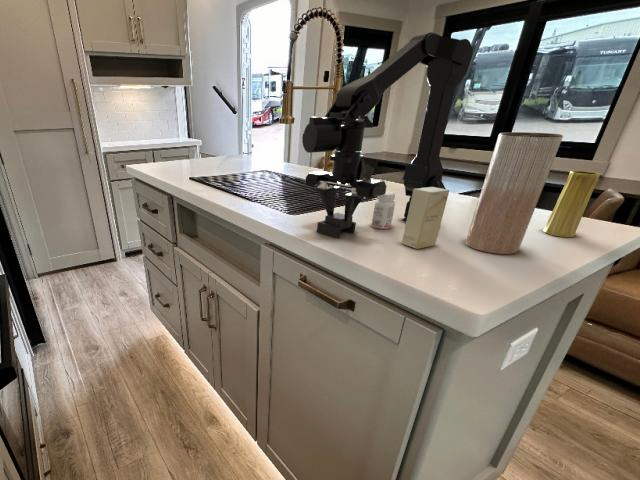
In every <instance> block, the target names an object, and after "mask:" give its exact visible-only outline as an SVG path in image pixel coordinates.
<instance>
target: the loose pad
mask: <svg viewBox="0 0 640 480" xmlns="http://www.w3.org/2000/svg"><path fill="white" fill-rule="evenodd" d="M353 217H354V216H353V215H352V217H351V219H350V221H349V222H347V223H346V222H345V213H340V212H334V213H333V214H331V215H327V214H326V215H325V218H324V220H325V223H327V224H330V225H334V226H337V227H340V231H343V230H342V229H345V228H348V227H351V225H352V222H353V219H354V218H353Z"/></svg>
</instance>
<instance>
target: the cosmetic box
mask: <svg viewBox="0 0 640 480" xmlns="http://www.w3.org/2000/svg"><path fill="white" fill-rule="evenodd" d="M449 193H450V189H448V188H446V189H441V188H436V187H427V188H418V189H413V194H412V199H411V203H410V207H409V212H408V216H407V221H405V226H404V231H403V233H402V234H403V235H402V239H401V244H402V245H405V246H407V247H410V248H413V249H417V250H419V249H423V248H424V249H425V248H428V247H433V246H436V243H437V240H438V235H439V232H440V229H441V228H440V227H441V224H442V221H443V216H444V213H445V209H446V205H447V201H448V198H449V195H450V194H449Z"/></svg>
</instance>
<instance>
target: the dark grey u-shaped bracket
mask: <svg viewBox="0 0 640 480" xmlns="http://www.w3.org/2000/svg"><path fill="white" fill-rule="evenodd" d="M356 226H357V222H356V221H352V225H351V227H348V228H345V229H342V230H340V227H337V226H334V225H330V224H327V223H325V219H324V220H320V221H317V227H316V233H319V234H322V235H326V236H327V237H328V236H329V237H332V238H335V239H338V238H340V234H341V231H345V232H347V233H352V234H354V233H356Z"/></svg>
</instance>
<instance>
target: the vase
mask: <svg viewBox="0 0 640 480" xmlns="http://www.w3.org/2000/svg"><path fill="white" fill-rule="evenodd" d="M600 176H601V173H600V172H597V171H588V170H571V171H569V175H568V177H567V179H566V181H565V184H564V186H563V188H562V190H561V192H560V194H559V197H558V198H557V201H556V203H555V206H554V207H553V209H552V212H551V214H550V215H549V217H548V220H547V222H546V225H545V226H544V228H543V232H544V234H547V235H549V236H554V237H558V238H559V237H560V238H574V237H575V236H576V234H577V231H578V228H579V225H580V223H581V220H582V219H583V215H584V213H585V211H586V208H587V206H588V204H589V201H590V199H591V196H592V194H593V192H594V190H595V187H596V185H597V183H598V180H599V178H600Z"/></svg>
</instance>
